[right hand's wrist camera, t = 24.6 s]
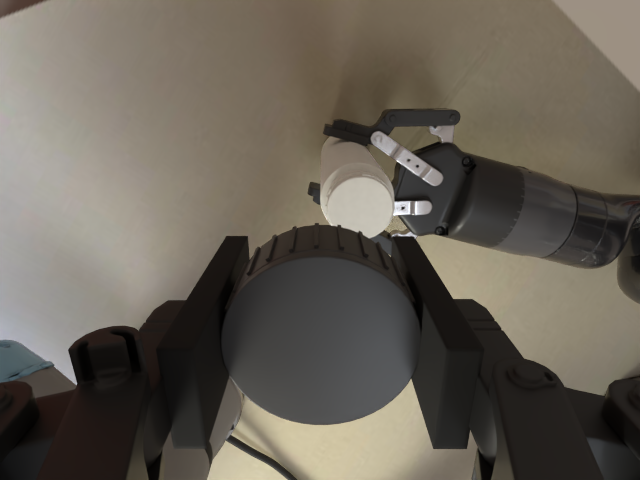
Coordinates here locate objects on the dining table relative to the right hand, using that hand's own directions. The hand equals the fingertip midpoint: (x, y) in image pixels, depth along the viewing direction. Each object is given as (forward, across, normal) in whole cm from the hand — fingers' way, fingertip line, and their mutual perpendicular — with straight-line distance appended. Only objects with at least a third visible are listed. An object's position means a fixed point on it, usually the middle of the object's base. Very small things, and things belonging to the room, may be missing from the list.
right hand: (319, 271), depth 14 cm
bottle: (+28, +2, 0) cm, 28 cm away
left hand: (+21, 0, 0) cm, 21 cm away
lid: (-4, 0, 0) cm, 4 cm away
